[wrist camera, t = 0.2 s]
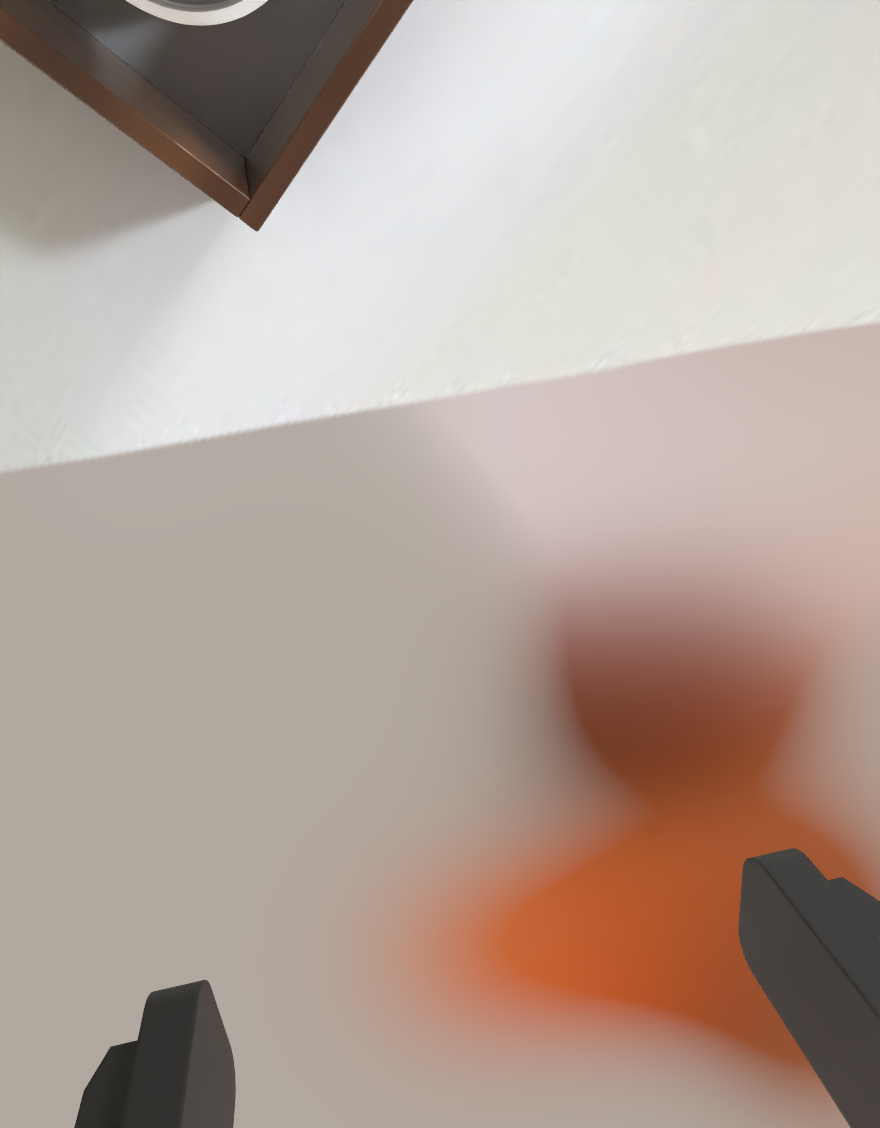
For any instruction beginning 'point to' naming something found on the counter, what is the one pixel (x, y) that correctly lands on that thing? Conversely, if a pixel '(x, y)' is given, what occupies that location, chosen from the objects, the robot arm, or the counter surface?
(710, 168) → the counter surface
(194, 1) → the can
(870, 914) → the robot arm
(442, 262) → the counter surface
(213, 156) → the crate
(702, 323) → the counter surface
